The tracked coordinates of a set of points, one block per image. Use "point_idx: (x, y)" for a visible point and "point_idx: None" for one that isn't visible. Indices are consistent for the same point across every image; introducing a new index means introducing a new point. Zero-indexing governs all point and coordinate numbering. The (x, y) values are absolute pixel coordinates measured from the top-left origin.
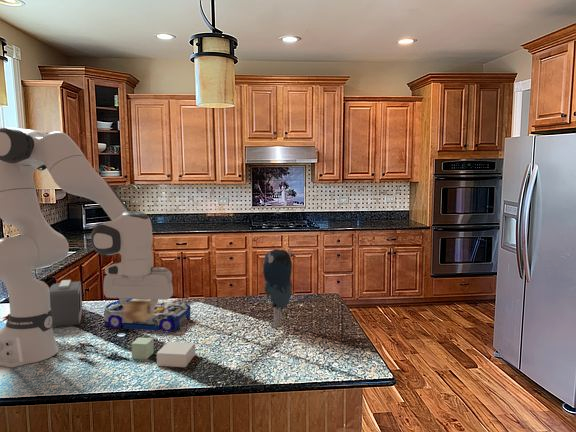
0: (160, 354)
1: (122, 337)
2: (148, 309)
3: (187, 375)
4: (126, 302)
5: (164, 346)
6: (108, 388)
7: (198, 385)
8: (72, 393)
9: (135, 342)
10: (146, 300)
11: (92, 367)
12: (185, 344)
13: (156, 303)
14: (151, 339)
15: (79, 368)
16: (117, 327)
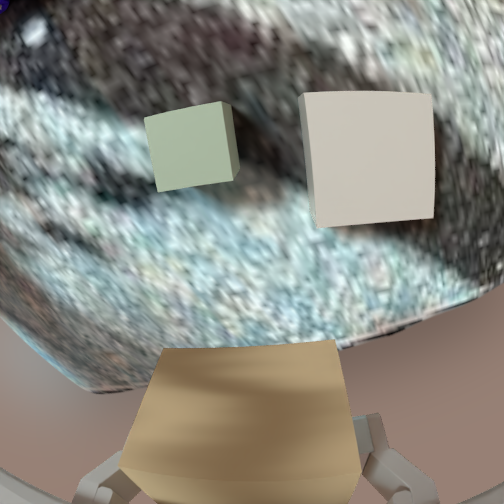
0: (332, 224)
1: (46, 45)
2: None
3: (430, 252)
4: (119, 472)
5: (317, 153)
6: None
7: (461, 293)
8: None
9: (167, 176)
10: (306, 499)
11: (110, 270)
12: (401, 115)
13: (413, 470)
14: (222, 119)
15: (87, 282)
16: (5, 8)
